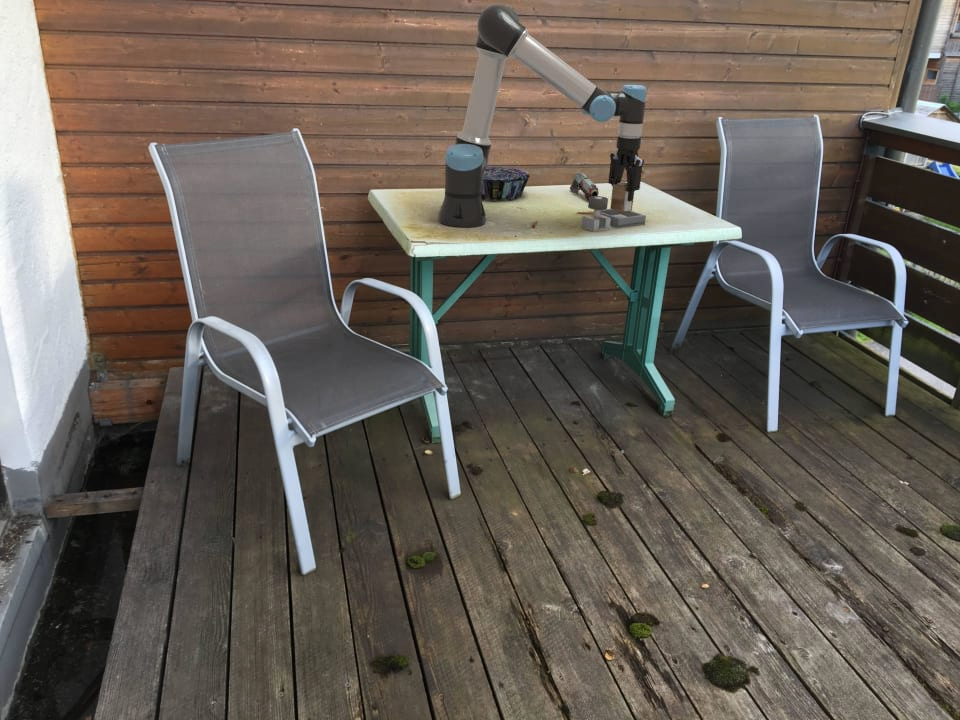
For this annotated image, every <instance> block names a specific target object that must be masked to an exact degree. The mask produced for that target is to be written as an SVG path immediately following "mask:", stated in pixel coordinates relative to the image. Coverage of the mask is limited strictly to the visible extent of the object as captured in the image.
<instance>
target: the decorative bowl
mask: <svg viewBox="0 0 960 720" xmlns="http://www.w3.org/2000/svg"><path fill="white" fill-rule="evenodd" d="M530 178H531V176H530V173H529V172H528V171H526V170H522V169H517V168H514V167H513V168H511V167H504V166H487V168H486V170H485V172H484V173H483V175H482V190H481V200H487V201H492V202H500V201H503V202H505V201H513V200H516V199H518V198H521V197H522V194H523V192H524V190H525V188H526V185H527V183H528V181H529V179H530Z"/></svg>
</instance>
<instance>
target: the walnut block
mask: <svg viewBox="0 0 960 720" xmlns="http://www.w3.org/2000/svg"><path fill="white" fill-rule="evenodd" d="M631 187H632V186H631ZM612 188H613V189H612ZM612 188H611V189H612V191H611V198H610V207H609V209H613V210H616V211H619V212H624V211H623V208H624V200H625V191H626V190H628V189H627V182H625V181H623V182H622V181H621V182H620V183H617V184H613V187H612ZM633 205H634V200H633V201H632V205H631V210H630V211H633Z"/></svg>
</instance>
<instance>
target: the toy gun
mask: <svg viewBox="0 0 960 720" xmlns="http://www.w3.org/2000/svg"><path fill="white" fill-rule="evenodd" d="M569 191H570V192H572V194H573V193H576V194H578V193H579V192H580V191H581V192H582V194H584V197H585V199H586V200H587V201H588V202H589V197H591V196H599V188H598V186H597V185H596V184H595V183H594V182H593V181H592V180H591V179H590V178H588V176H587V174H585V173H584V172H579V171H578V173H577V174H576V175H575V176H574V177H573V180H572V183H571V185H570V187H569Z"/></svg>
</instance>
